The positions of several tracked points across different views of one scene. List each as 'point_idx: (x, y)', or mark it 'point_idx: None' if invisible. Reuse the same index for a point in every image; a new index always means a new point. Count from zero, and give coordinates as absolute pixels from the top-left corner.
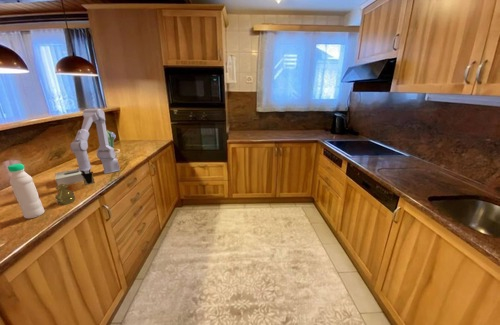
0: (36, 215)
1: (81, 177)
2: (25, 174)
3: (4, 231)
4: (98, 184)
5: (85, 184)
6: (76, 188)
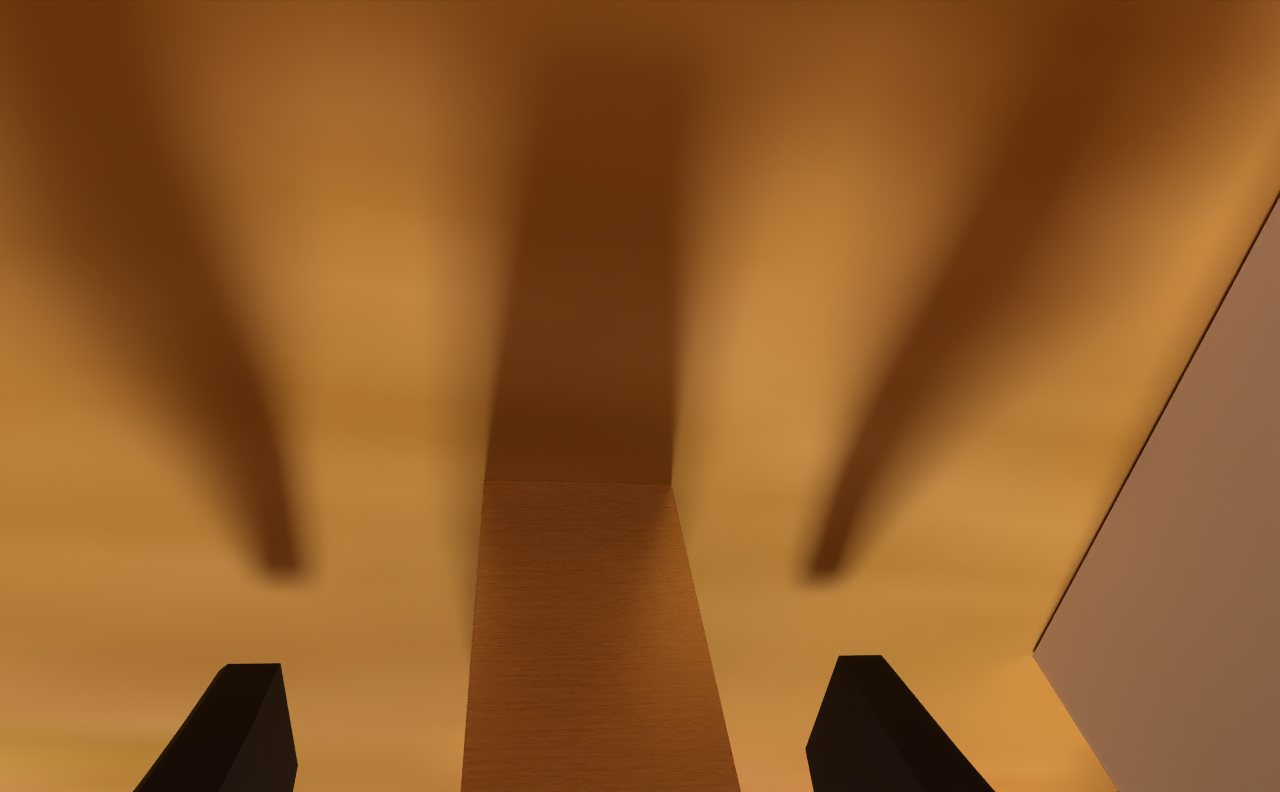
0: None
1: (1263, 605)
2: None
3: None
4: None
5: (484, 527)
6: (322, 135)
